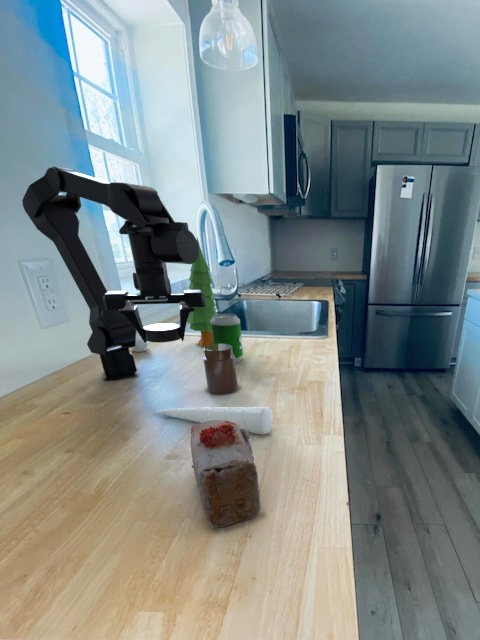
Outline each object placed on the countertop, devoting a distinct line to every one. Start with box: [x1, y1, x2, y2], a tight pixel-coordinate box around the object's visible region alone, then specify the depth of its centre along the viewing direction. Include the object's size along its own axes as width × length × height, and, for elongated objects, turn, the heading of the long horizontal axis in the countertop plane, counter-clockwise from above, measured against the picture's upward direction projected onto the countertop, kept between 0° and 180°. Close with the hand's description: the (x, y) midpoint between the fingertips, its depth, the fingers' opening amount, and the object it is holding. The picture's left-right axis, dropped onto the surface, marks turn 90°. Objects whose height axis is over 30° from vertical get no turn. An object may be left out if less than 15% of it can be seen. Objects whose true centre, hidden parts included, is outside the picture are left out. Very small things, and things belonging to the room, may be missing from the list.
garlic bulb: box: [130, 330, 150, 353], centre depth 106 cm, size 6×6×7 cm
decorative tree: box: [187, 237, 218, 348], centre depth 108 cm, size 10×9×30 cm
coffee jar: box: [202, 344, 239, 395], centre depth 80 cm, size 7×7×10 cm
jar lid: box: [143, 322, 181, 343], centre depth 78 cm, size 7×7×2 cm
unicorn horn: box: [156, 406, 274, 435], centre depth 67 cm, size 5×24×5 cm, turn 69°
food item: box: [189, 420, 261, 528], centre depth 47 cm, size 14×8×10 cm, turn 24°
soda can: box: [210, 313, 244, 364], centre depth 98 cm, size 8×8×12 cm
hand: (164, 341), depth 79 cm, fingers closed on jar lid, 7 cm apart
